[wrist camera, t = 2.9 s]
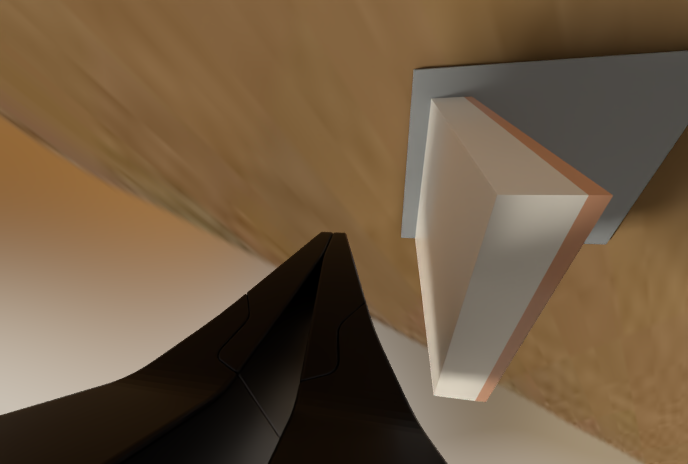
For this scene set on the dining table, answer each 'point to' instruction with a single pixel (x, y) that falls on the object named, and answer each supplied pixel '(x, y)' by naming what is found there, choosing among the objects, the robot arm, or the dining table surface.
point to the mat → (569, 118)
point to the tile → (491, 240)
